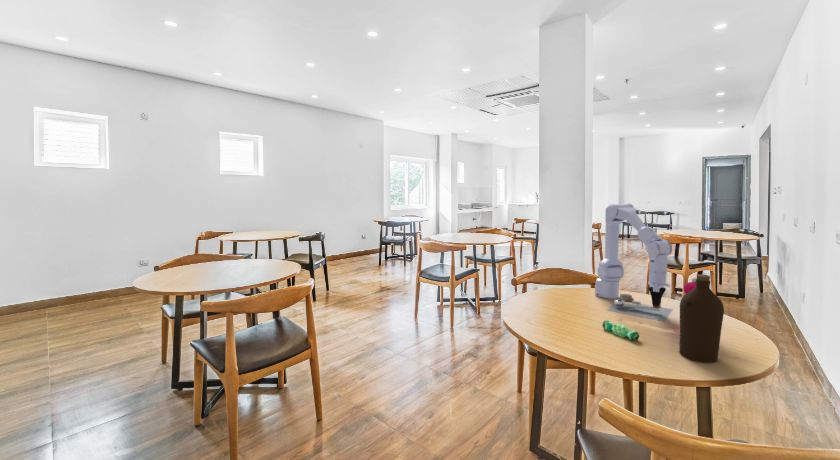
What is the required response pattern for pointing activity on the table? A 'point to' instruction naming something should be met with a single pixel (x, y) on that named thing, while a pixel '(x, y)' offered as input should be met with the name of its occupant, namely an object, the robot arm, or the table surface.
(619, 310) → the nutcracker base
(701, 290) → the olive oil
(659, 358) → the table surface
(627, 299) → the walnut
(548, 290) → the table surface
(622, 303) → the lever
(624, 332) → the candy
